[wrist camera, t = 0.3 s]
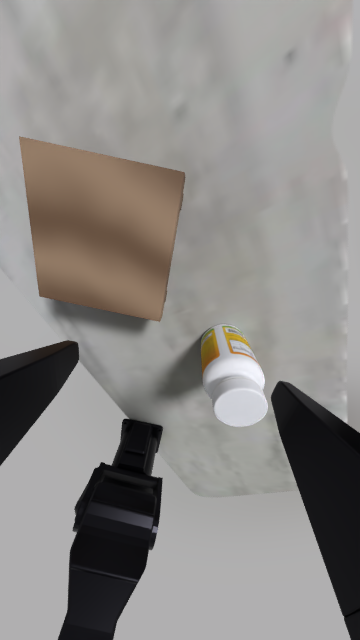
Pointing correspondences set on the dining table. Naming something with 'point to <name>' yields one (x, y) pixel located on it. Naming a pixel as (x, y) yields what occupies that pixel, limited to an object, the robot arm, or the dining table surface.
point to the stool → (101, 227)
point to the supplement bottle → (232, 376)
